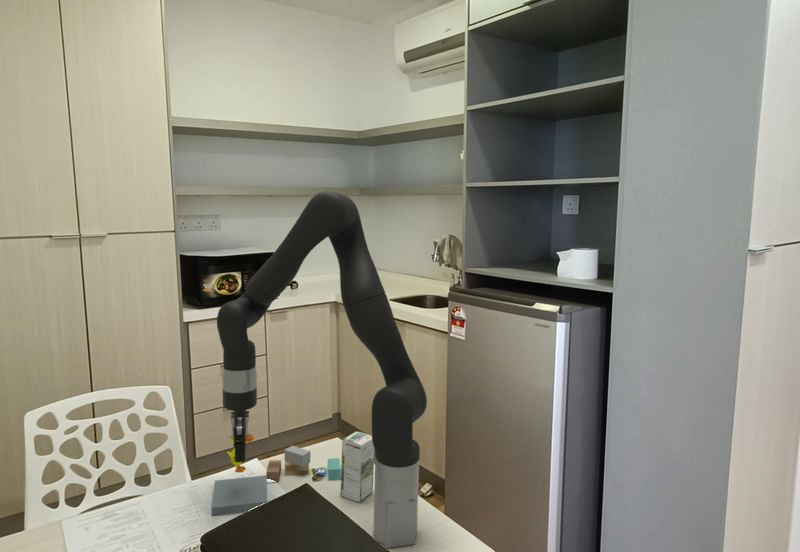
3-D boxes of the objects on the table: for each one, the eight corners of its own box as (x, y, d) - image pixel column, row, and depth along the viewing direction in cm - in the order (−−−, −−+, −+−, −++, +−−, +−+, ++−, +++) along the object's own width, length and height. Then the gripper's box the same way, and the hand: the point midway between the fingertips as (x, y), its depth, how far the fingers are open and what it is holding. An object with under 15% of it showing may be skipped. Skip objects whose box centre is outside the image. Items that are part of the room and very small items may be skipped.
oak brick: (308, 468, 141) (308, 458, 141) (308, 474, 138) (308, 463, 138) (285, 470, 140) (285, 459, 140) (284, 476, 137) (284, 464, 137)
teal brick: (340, 480, 136) (340, 469, 136) (328, 480, 136) (328, 469, 135) (339, 468, 142) (339, 458, 142) (327, 469, 142) (327, 458, 141)
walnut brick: (278, 482, 134) (278, 471, 134) (266, 483, 134) (266, 471, 133) (281, 471, 140) (281, 460, 140) (269, 471, 140) (269, 460, 139)
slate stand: (267, 509, 122) (267, 501, 122) (211, 516, 119) (211, 507, 118) (266, 482, 133) (266, 475, 133) (215, 488, 130) (214, 480, 130)
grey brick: (310, 462, 139) (310, 451, 138) (302, 466, 136) (302, 455, 136) (292, 456, 142) (292, 445, 141) (284, 460, 139) (284, 449, 139)
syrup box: (353, 485, 133) (354, 430, 131) (373, 492, 130) (375, 436, 128) (339, 496, 128) (340, 438, 126) (360, 503, 125) (361, 444, 124)
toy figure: (257, 468, 126) (256, 419, 124) (251, 476, 123) (249, 426, 121) (230, 465, 127) (229, 417, 125) (223, 472, 124) (221, 423, 122)
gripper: (257, 395, 117) (257, 470, 119) (256, 375, 130) (256, 442, 133) (220, 397, 115) (221, 473, 117) (224, 376, 128) (224, 445, 131)
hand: (240, 456), depth 125 cm, fingers closed on toy figure, 3 cm apart
